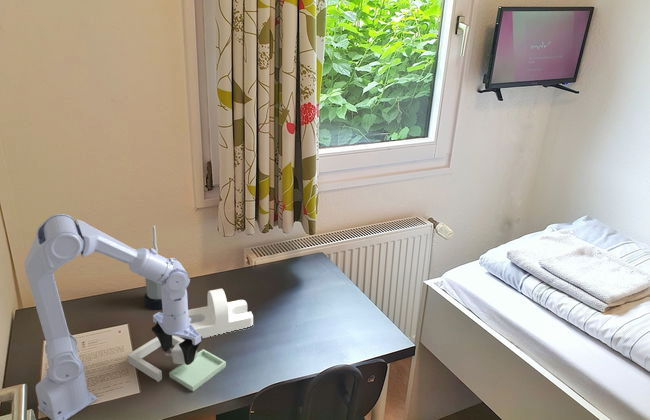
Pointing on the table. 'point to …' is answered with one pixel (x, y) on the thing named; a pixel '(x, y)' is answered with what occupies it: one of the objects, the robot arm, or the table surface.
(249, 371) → the table surface
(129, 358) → the bay
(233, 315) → the u-slot stand
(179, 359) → the usb wall charger
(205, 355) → the tray
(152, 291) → the humidifier
